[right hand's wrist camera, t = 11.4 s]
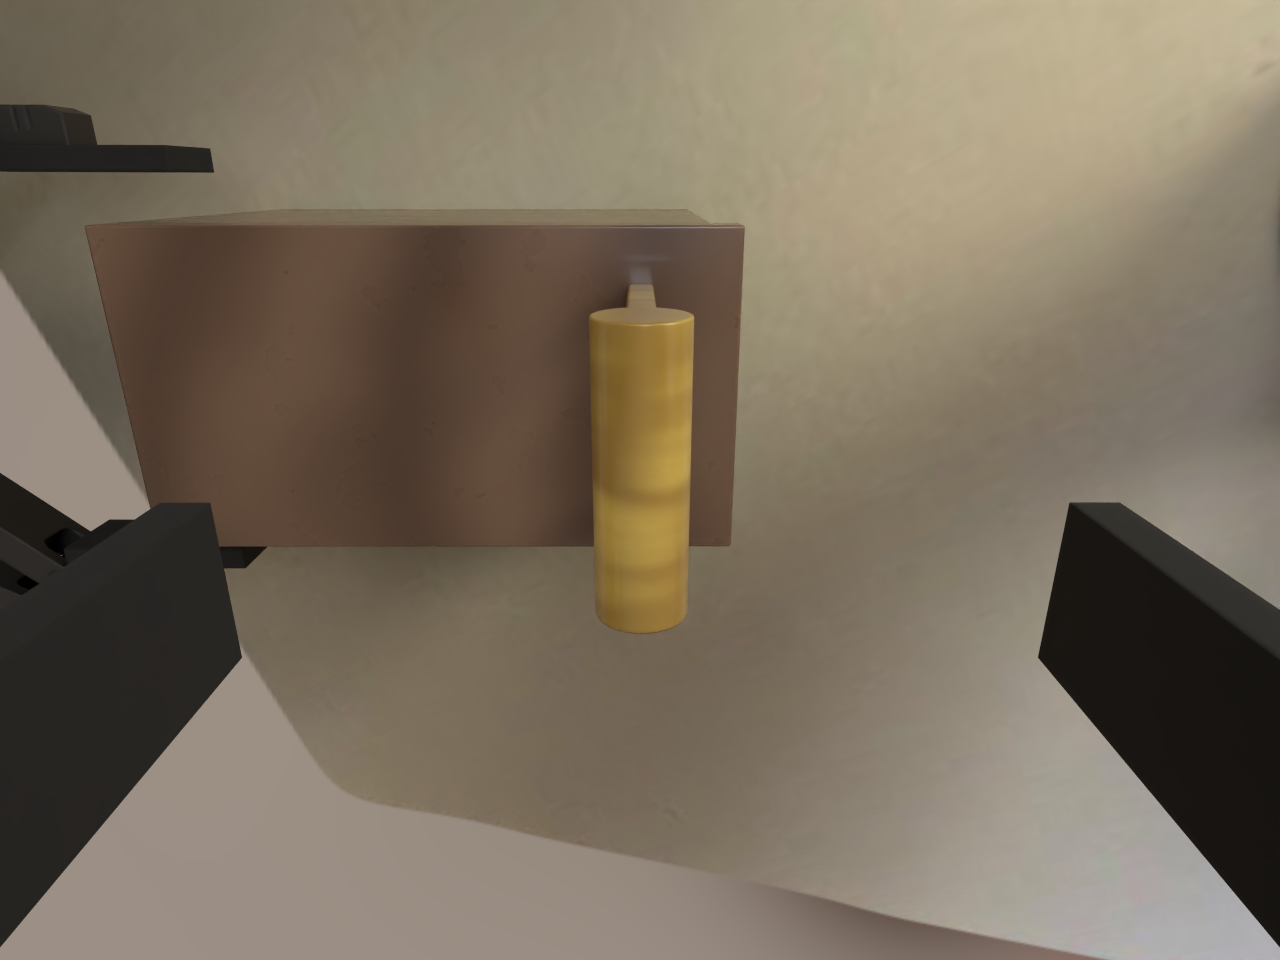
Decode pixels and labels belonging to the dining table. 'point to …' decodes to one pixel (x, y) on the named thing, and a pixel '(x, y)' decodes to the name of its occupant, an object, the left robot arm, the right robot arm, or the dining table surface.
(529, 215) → the chest
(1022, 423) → the dining table surface
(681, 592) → the lid
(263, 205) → the dining table surface
